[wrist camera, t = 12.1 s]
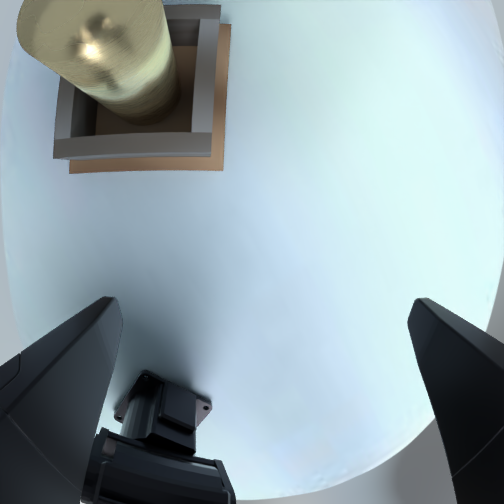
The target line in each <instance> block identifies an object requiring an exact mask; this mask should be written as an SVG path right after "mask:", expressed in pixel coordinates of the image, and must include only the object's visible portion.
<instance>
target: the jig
mask: <svg viewBox="0 0 504 504" xmlns="http://www.w3.org/2000/svg"><path fill="white" fill-rule="evenodd" d="M163 8H164V12H165V17H166V21H167V26H168V30H169V35H170V39H171V43H172V48H173V52H174V56H175V60H176V65H177V69H178V73H179V77H180V82H181V89H182V90H181V97H180V100H179V103H178V105H177V106H176V108H175V109H174V111H173V112H172V113H171V114H170V115H169V116H168V117H167V118H165V119H164V120H162V121H160V122H158V123H156V124H153V125H148V126H137V125H133V124H130V123H128V122H126V121H124V120H123V119H122V118H120V117H119V116H118V115H116V114H115V113H113V112H112V111H110V110H109V109H108V108H106V107H105V106H103V105H102V104H101V103H99V102H98V101H96V100H95V99H93V98H92V97H91V96H89V95H88V94H86V93H85V92H83V91H82V90H81V89H79V88H78V87H76V86H75V85H73V84H72V83H71V82H69V81H68V80H66V79H65V78H63V77H62V76H61V77H60V84H59V91H58V100H57V109H56V119H55V132H54V150H53V159H67V160H70V167H69V174H74V173H93V172H115V171H151V170H207V171H223V162H224V138H225V117H226V97H227V80H228V64H229V48H230V34H231V24H219V22H220V11H221V5H201V4H190V5H163Z"/></svg>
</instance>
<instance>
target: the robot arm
mask: <svg viewBox="0 0 504 504" xmlns="http://www.w3.org/2000/svg"><path fill="white" fill-rule="evenodd" d="M407 324H408V329H409V333H410V336H411V340H412V344H413V348H414V352H415V356H416V360H417V363H418V367H419V370H420V373H421V375H422V378H423V381H424V384H425V387H426V390H427V393H428V396H429V399H430V402H431V405H432V408H433V411H434V415H435V418H436V421H437V424H438V428H439V431H440V434H441V438H442V442H443V445H444V449H445V453H446V456H447V460H448V464H449V468H450V473H451V476H452V482H453V486H454V491H455V495H456V500H457V504H504V344H503V343H501V342H500V341H498V340H497V339H495V338H494V337H492V336H490V335H489V334H487V333H486V332H484V331H482V330H481V329H479V328H477V327H476V326H474V325H473V324H471V323H469V322H468V321H466V320H464V319H463V318H461V317H459V316H458V315H456V314H454V313H453V312H451V311H449V310H448V309H446V308H444V307H443V306H441V305H439V304H438V303H436V302H434V301H432V300H431V299H429V298H417V299H416V300H415V301H414V303H413V306H412V309H411V312H410V315H409V317H408V322H407ZM122 326H123V320H122V316H121V312H120V308H119V304H118V300H117V299H116V298H115V297H106V296H104V297H102V298H100V299H98V300H97V301H95V302H94V303H92V304H91V305H89V306H88V307H86V308H85V309H83V310H82V311H80V312H79V313H77V314H76V315H74V316H73V317H71V318H70V319H68V320H67V321H65V322H64V323H62V324H61V325H59V326H58V327H56V328H55V329H53V330H52V331H51V332H49V333H48V334H46V335H45V336H43V337H42V338H40V339H39V340H37V341H36V342H35V343H33V344H32V345H30V346H29V347H27V348H26V349H24V350H23V351H22V352H21V354H17V355H16V356H15V357H13V358H12V359H10V360H9V361H7V362H6V363H4V364H3V365H2V366H0V504H80V500H81V502H82V503H85V504H236V497H235V493H234V490H233V487H232V485H231V483H230V480H229V478H228V475H227V473H226V470H225V468H224V465H223V463H222V461H221V460H216V459H214V460H210V459H205V458H200V457H196V456H195V453H196V427H197V426H198V425H199V424H200V423H201V422H202V421H203V419H204V418H205V417H206V416H207V415H208V414H209V413H210V411H211V410H212V403H211V402H209V401H207V400H205V399H203V398H201V397H199V396H197V395H195V394H194V393H191V392H189V391H187V390H185V389H183V388H181V387H179V386H177V385H175V384H173V383H171V382H169V381H166V380H164V379H162V378H160V377H159V376H157V375H155V374H153V373H151V372H149V371H147V370H144V371H142V372H141V373H140V374H139V376H138V377H137V379H136V380H135V382H134V383H133V385H132V386H131V388H130V390H129V391H128V393H127V394H126V396H125V397H124V399H123V401H122V402H121V404H120V405H119V407H118V408H117V410H116V412H115V414H114V419H115V420H116V421H118V422H120V423H122V424H123V425H122V429H121V433H120V435H119V434H116V433H113V432H110V431H109V429H106V428H103V427H102V428H101V430H100V433H99V434H96V436H95V433H96V429H97V425H98V422H99V418H100V414H101V411H102V407H103V404H104V400H105V397H106V393H107V390H108V387H109V383H110V380H111V377H112V373H113V370H114V365H115V361H116V356H117V350H118V345H119V341H120V336H121V331H122ZM143 376H147V377H148V378H145V377H143ZM204 406H208V407H204ZM119 416H121V417H119ZM94 437H95V438H94Z"/></svg>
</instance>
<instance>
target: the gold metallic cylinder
mask: <svg viewBox="0 0 504 504" xmlns="http://www.w3.org/2000/svg"><path fill="white" fill-rule="evenodd" d="M17 37H18V40H19V43H20V45H21V46H22V48H23V49H24V50H25V51H26V52H27V53H28V54H29V55H31V56H32V57H34V58H35V59H37V60H38V61H40V62H41V63H43V64H44V65H46V66H47V67H49V68H50V69H52V70H53V71H54V72H56V73H57V74H59V75H60V76H62V77H63V78H65V79H66V80H68V81H69V82H71V83H72V84H73V85H75V86H76V87H78V88H79V89H81V90H82V91H83V92H85V93H86V94H88V95H89V96H91V97H92V98H93V99H95V100H96V101H98V102H99V103H101V104H102V105H103V106H105V107H106V108H108V109H109V110H110V111H112V112H113V113H115V114H116V115H118V116H119V117H120V118H122V119H123V120H124V121H126V122H128V123H130V124H133V125H137V126H148V125H153V124H156V123H158V122H160V121H162V120H164V119H165V118H167V117H168V116H169V115H170V114H171V113H172V112H173V111H174V109H175V108H176V106H177V105H178V103H179V100H180V97H181V90H182V89H181V82H180V77H179V73H178V69H177V65H176V60H175V56H174V52H173V48H172V43H171V39H170V35H169V30H168V26H167V21H166V17H165V12H164V8H163V3H162V0H24V2H23V4H22V6H21V9H20V12H19V15H18V19H17Z"/></svg>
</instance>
